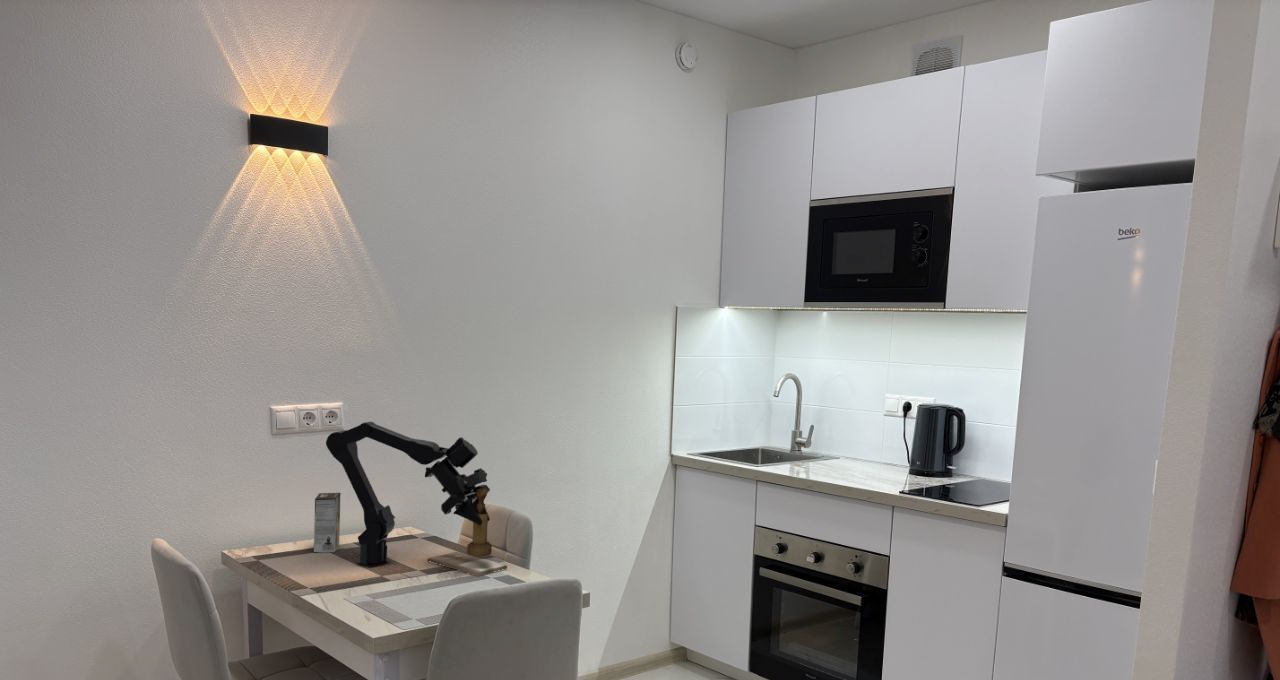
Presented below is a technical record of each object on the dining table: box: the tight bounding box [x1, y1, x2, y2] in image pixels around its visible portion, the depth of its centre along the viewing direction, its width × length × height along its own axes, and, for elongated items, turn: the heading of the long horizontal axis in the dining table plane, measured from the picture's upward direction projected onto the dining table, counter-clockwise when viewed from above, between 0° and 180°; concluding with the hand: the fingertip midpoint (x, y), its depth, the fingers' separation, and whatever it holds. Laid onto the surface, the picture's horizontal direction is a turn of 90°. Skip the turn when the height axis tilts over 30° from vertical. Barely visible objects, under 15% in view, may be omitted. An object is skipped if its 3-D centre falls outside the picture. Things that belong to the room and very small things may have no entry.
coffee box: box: [313, 492, 342, 553], centre depth 255 cm, size 9×6×16 cm
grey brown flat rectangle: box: [426, 551, 508, 577], centre depth 240 cm, size 10×22×1 cm, turn 50°
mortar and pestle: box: [466, 488, 493, 557], centre depth 235 cm, size 7×6×18 cm
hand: (484, 522), depth 235 cm, fingers closed on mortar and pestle, 4 cm apart
